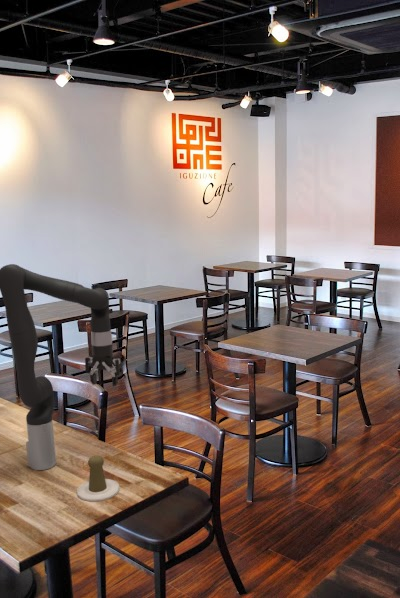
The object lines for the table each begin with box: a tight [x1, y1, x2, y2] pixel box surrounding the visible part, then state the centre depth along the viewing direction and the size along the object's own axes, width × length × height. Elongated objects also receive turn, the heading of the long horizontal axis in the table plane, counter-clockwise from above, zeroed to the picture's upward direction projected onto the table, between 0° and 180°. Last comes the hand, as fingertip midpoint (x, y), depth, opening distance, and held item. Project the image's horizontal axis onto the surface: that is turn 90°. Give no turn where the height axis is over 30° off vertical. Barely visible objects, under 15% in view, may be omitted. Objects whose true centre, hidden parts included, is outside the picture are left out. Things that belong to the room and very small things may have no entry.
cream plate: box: [76, 478, 120, 502], centre depth 206 cm, size 14×14×1 cm
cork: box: [87, 454, 107, 492], centre depth 205 cm, size 6×6×11 cm
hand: (104, 384), depth 229 cm, fingers open, 8 cm apart
